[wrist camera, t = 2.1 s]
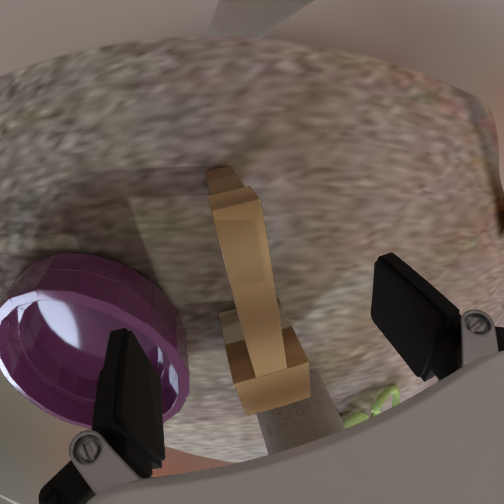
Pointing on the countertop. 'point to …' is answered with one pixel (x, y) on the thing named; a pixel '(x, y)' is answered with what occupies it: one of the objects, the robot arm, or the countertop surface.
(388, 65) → the countertop surface
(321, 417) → the thermos bottle
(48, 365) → the bowl
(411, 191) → the countertop surface
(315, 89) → the countertop surface
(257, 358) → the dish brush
